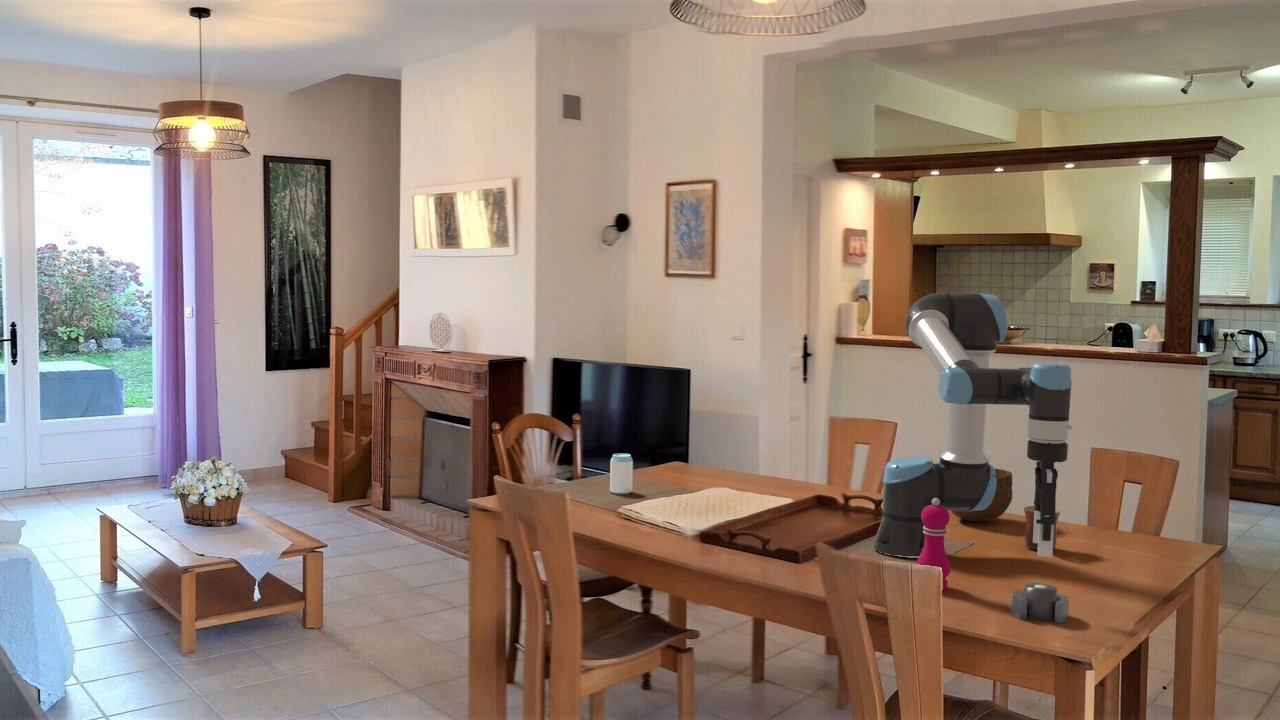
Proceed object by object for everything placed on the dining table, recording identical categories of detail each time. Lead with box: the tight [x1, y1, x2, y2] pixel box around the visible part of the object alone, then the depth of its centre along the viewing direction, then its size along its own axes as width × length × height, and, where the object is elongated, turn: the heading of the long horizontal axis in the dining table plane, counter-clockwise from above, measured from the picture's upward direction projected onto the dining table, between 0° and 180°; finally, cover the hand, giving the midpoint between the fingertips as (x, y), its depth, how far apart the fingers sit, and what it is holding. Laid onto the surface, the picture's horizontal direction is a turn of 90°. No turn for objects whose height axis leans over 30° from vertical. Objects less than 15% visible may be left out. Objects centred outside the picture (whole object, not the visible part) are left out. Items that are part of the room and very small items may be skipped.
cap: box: [1024, 582, 1058, 622], centre depth 208 cm, size 6×6×6 cm
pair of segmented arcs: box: [1010, 589, 1070, 624], centre depth 208 cm, size 10×7×4 cm
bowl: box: [951, 467, 1013, 523], centre depth 291 cm, size 19×19×15 cm
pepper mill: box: [916, 498, 951, 592], centre depth 226 cm, size 7×7×20 cm
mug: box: [1023, 505, 1062, 552], centre depth 260 cm, size 12×9×10 cm
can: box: [609, 453, 634, 495], centre depth 322 cm, size 7×7×12 cm
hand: (1042, 549), depth 207 cm, fingers open, 10 cm apart
